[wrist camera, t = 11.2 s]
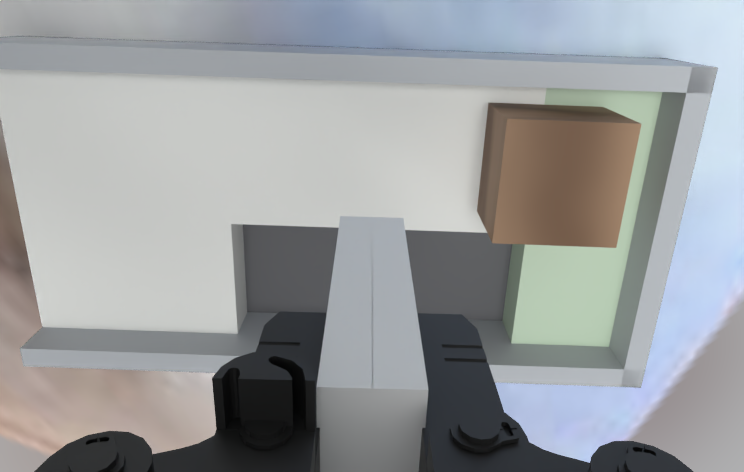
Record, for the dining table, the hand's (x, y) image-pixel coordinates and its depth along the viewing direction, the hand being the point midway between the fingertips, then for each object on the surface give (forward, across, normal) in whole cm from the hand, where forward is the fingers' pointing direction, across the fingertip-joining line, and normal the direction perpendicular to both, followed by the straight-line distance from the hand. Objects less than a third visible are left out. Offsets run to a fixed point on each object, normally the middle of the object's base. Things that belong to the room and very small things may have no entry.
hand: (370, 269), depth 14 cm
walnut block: (+13, +8, 0) cm, 15 cm away
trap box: (+15, -1, -4) cm, 16 cm away
